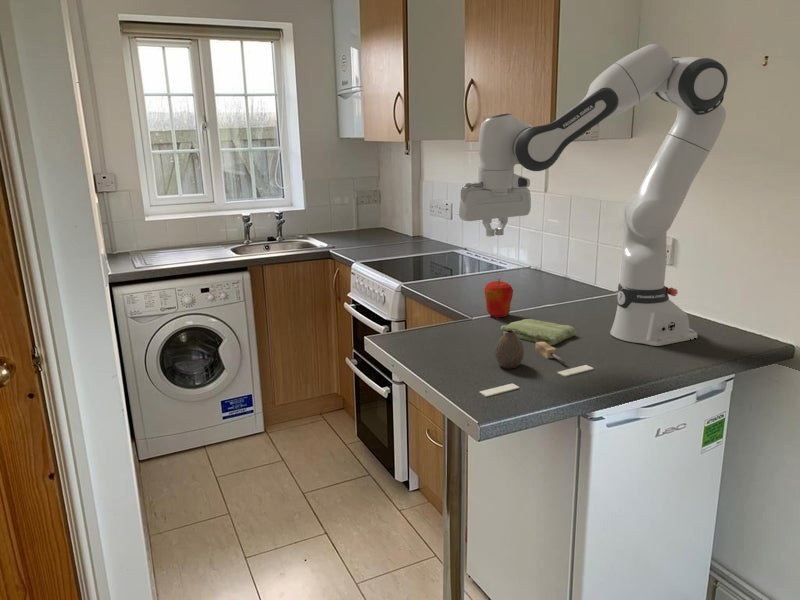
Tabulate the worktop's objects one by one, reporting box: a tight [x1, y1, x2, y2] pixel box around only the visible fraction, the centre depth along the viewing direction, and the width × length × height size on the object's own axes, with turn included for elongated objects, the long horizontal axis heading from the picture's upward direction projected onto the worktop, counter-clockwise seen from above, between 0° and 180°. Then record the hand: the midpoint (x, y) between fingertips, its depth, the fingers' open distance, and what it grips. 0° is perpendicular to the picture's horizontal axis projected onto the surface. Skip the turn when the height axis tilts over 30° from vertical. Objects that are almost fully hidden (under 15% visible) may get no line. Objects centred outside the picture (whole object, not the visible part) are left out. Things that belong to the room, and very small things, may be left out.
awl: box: [534, 342, 567, 364], centre depth 152 cm, size 12×2×2 cm, turn 17°
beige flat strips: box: [479, 364, 594, 398], centre depth 139 cm, size 31×2×1 cm, turn 117°
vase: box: [494, 330, 525, 369], centre depth 147 cm, size 7×7×9 cm
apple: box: [484, 278, 514, 318], centre depth 187 cm, size 9×8×12 cm
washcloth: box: [500, 318, 577, 346], centre depth 170 cm, size 13×18×3 cm
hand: (494, 235), depth 157 cm, fingers closed
